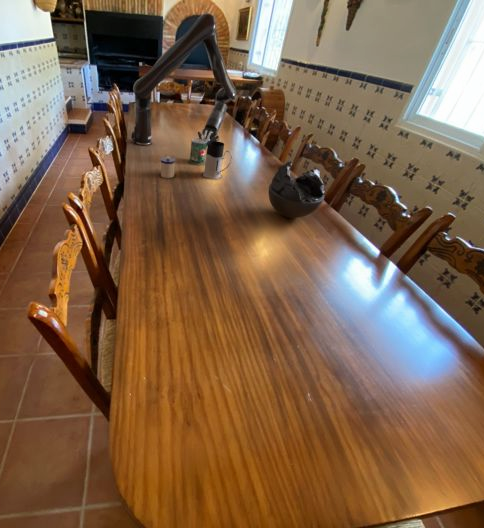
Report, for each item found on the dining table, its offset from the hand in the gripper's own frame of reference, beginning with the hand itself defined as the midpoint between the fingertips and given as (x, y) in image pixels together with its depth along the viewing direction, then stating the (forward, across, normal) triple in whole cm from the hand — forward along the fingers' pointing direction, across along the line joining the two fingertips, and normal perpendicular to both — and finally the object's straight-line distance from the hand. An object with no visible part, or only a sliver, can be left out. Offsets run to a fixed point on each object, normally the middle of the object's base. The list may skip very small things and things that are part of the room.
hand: (202, 150), depth 158 cm
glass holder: (+16, +17, -9) cm, 25 cm away
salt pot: (+24, -3, -18) cm, 30 cm away
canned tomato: (+7, 0, 0) cm, 7 cm away
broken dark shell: (+28, +56, -20) cm, 66 cm away
